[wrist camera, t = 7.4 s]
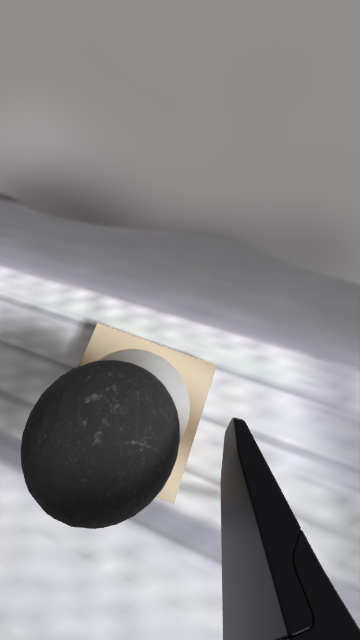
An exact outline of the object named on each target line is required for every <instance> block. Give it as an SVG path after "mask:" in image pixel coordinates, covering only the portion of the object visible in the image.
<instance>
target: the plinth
mask: <svg viewBox="0 0 360 640" xmlns="http://www.w3.org/2000/svg"><path fill="white" fill-rule="evenodd" d="M103 360H120V361H124V362H129V363H133V364H135V365H138V366H140V367H142V368H145V369H146V370H148V371H149V372H151V373H152V374H153V375H155V376H156V377H157V378H158V379H159V380H160V381H161V382H162V383H163V384H164V386H165V387H166V389H167V390H168V392H169V394H170V395H171V397H172V398H173V401H174V404H175V406H176V409H177V412H178V418H179V424H180V443H179V449H178V456H177V460H176V462H175V465H174V467H173V470H172V473H171V475H170V477H169V479H168V480H167V482H166V484H165V486H164V487H163V489H162V490H161V491H160V492H159V494H158V495H157V496H156V497H157V498H159V499H162V500H165V501H167V502H170V503H173V504H174V501H175V498H176V495H177V492H178V488H179V485H180V482H181V479H182V476H183V472H184V469H185V466H186V463H187V459H188V456H189V453H190V450H191V446H192V443H193V440H194V437H195V434H196V430H197V427H198V424H199V421H200V417H201V414H202V411H203V408H204V405H205V401H206V398H207V395H208V392H209V388H210V385H211V382H212V379H213V375H214V372H215V369H216V366H217V365H214V364H212V363H209V362H206V361H203V360H200V359H197V358H195V357H192V356H189V355H186V354H183V353H181V352H178V351H175V350H172V349H169V348H166V347H164V346H161V345H158V344H155V343H152V342H150V341H147V340H144V339H141V338H138V337H135V336H133V335H130V334H127V333H124V332H121V331H119V330H116V329H113V328H110V327H107V326H105V325H102V324H99V323H97V325H96V327H95V330H94V332H93V334H92V337H91V339H90V341H89V343H88V346H87V348H86V350H85V352H84V355H83V357H82V359H81V362H80V364H79V366H78V367H80V366H82V365H85V364H88V363H91V362H94V361H103Z"/></svg>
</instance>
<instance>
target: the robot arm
mask: <svg viewBox="0 0 360 640" xmlns="http://www.w3.org/2000/svg"><path fill="white" fill-rule="evenodd" d="M300 529H301V527H300V525H299V523H298V521H297V520H296V518H295V516H294V514H293V512H292V510H291V508H290V506H289V504H288V502H287V501H286V499H285V497H284V495H283V493H282V491H281V489H280V487H279V485H278V483H277V481H276V480H275V478H274V476H273V474H272V472H271V470H270V468H269V466H268V464H267V462H266V461H265V459H264V457H263V455H262V453H261V451H260V449H259V447H258V445H257V443H256V442H255V440H254V438H253V436H252V434H251V432H250V430H249V428H248V426H247V424H246V423H245V421H244V420H242V419H238V418H232V420H231V422H230V424H229V426H228V428H227V430H226V432H225V438H224V449H223V460H222V471H221V536H222V599H223V640H360V629H359V627H358V626H357V624H356V623H355V621H354V619H353V618H352V616H351V614H350V613H349V611H348V610H347V608H346V606H345V605H344V603H343V601H342V600H341V598H340V596H339V595H338V593H337V591H336V590H335V588H334V586H333V585H332V583H331V581H330V580H329V578H328V576H327V575H326V573H325V571H324V570H323V568H322V566H321V564H320V562H319V561H318V559H317V557H316V555H315V553H314V551H313V550H312V548H311V546H310V544H309V542H308V540H307V538H306V536H305V535H304V533H303V531H302V530H300Z"/></svg>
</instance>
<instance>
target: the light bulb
mask: <svg viewBox="0 0 360 640" xmlns="http://www.w3.org/2000/svg"><path fill="white" fill-rule="evenodd" d="M179 443H180V424H179V418H178V412H177V409H176V406H175V404H174V401H173V398H172V397H171V395H170V394H169V392H168V390H167V389H166V387H165V386H164V384H163V383H162V382H161V381H160V380H159V379H158V378H157V377H156V376H155V375H153V374H152V373H151V372H149V371H148V370H146V369H145V368H142V367H140V366H138V365H135V364H133V363H129V362H124V361H120V360H103V361H94V362H91V363H88V364H85V365H82V366H80V367H77V368H75V369H72V370H71V371H69V372H67V373H66V374H64V375H63V376H61V377H60V378H59V379H57V380H56V381H55V382H54V383H53V384H52V385H51V386H50V387H49V388H48V389H47V390H46V391H45V392H44V393H43V394H42V395H41V397H40V398H39V400H38V401H37V403H36V405H35V406H34V408H33V409H32V411H31V413H30V415H29V418H28V421H27V423H26V426H25V429H24V432H23V436H22V444H21V464H22V470H23V474H24V478H25V482H26V485H27V488H28V490H29V492H30V494H31V495H32V497H33V498H34V499H35V500H36V501H37V503H38V504H39V505H40V506H41V508H42V509H43V510H44V511H45V512H46V513H47V514H48V515H50V516H51V517H53V518H54V519H56V520H58V521H61V522H63V523H65V524H67V525H69V526H71V527H81V528H90V529H92V528H93V529H96V528H104V527H108V526H111V525H116V524H118V523H120V522H122V521H125V520H127V519H129V518H131V517H133V516H135V515H136V514H137V513H138V512H140V511H141V510H142V509H144V508H145V507H146V506H147V505H149V504H150V503H151V501H152V500H153V499H154V498H155V497H156V496H157V495H158V494H159V492H160V491H161V490H162V489H163V487H164V486H165V484H166V482H167V480H168V479H169V477H170V475H171V473H172V470H173V467H174V465H175V462H176V460H177V456H178V449H179Z"/></svg>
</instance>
